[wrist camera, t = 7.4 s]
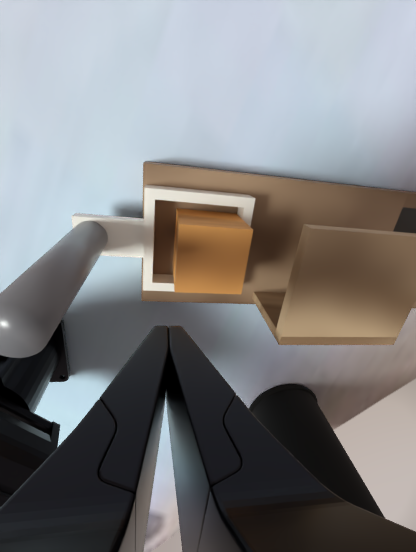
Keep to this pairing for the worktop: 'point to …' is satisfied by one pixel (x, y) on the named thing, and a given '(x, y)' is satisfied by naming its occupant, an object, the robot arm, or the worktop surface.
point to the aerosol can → (312, 441)
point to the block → (210, 252)
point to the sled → (90, 266)
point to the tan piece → (306, 254)
